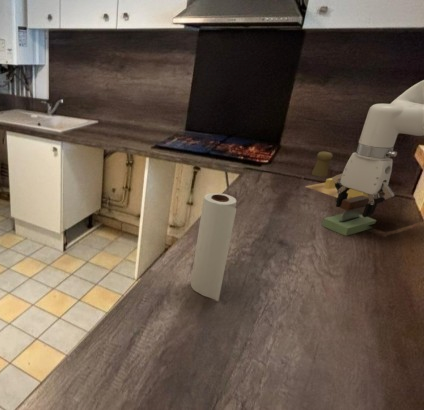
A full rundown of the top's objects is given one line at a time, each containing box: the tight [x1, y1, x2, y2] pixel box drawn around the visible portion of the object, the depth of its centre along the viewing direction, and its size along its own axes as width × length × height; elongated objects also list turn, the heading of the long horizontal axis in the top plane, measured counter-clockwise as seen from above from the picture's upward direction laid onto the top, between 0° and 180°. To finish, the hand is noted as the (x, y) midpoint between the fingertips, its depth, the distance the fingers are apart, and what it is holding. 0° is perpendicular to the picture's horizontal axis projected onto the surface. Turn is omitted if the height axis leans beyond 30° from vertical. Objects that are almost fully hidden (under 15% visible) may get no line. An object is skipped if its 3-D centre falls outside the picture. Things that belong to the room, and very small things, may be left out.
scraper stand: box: [321, 213, 377, 237], centre depth 105 cm, size 7×13×2 cm, turn 114°
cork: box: [310, 151, 333, 178], centre depth 144 cm, size 6×6×11 cm
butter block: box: [347, 189, 368, 198], centre depth 123 cm, size 6×4×4 cm, turn 24°
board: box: [305, 181, 352, 199], centre depth 128 cm, size 20×14×2 cm
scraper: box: [339, 195, 369, 223], centre depth 104 cm, size 2×9×9 cm, turn 114°
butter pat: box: [324, 177, 335, 189], centre depth 131 cm, size 2×4×4 cm, turn 114°
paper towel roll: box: [190, 192, 238, 302], centre depth 74 cm, size 7×6×21 cm
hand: (353, 210), depth 104 cm, fingers open, 6 cm apart
